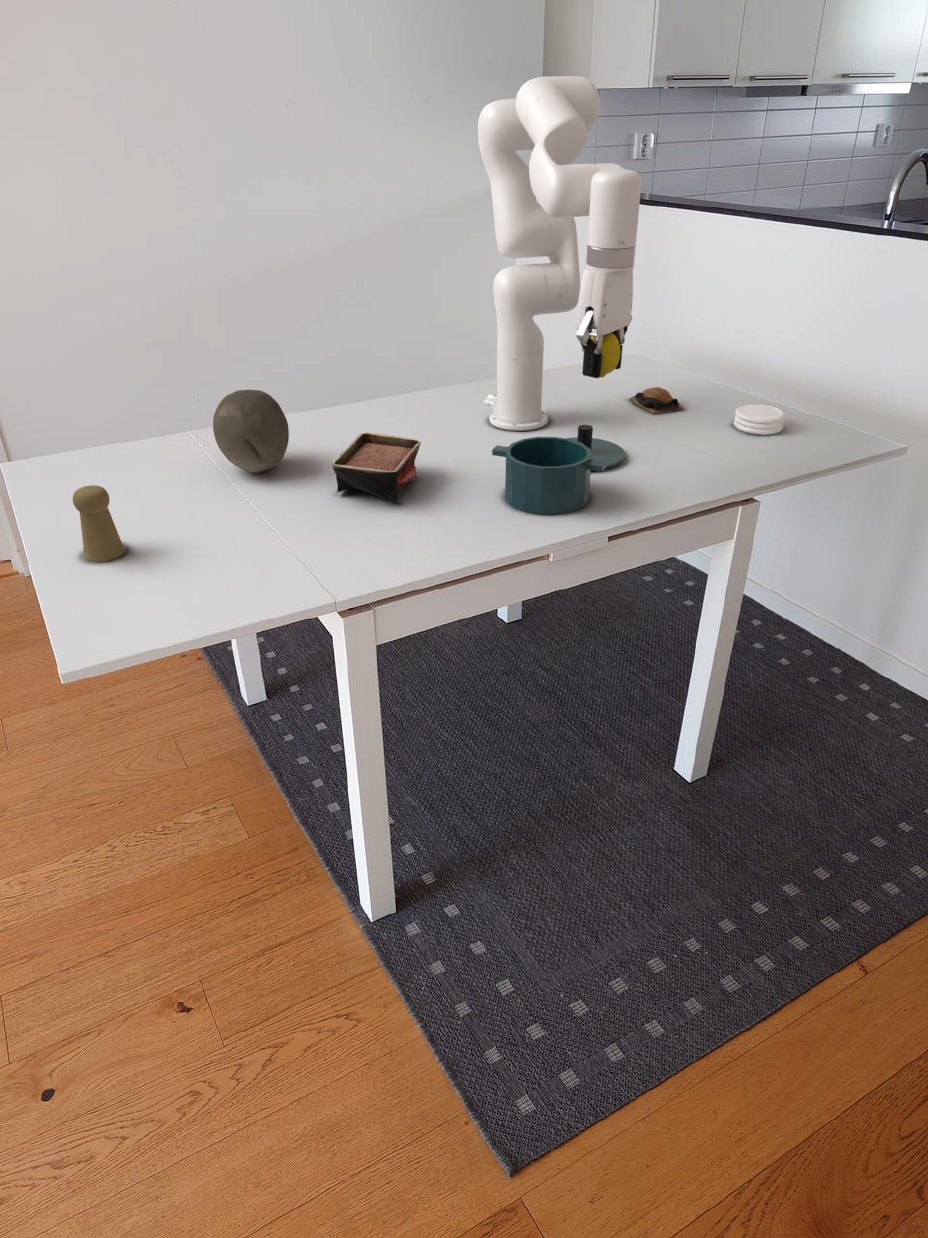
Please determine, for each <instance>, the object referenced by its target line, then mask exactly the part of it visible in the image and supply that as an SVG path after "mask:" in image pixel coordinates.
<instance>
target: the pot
mask: <svg viewBox="0 0 928 1238" xmlns="http://www.w3.org/2000/svg"><path fill="white" fill-rule="evenodd" d="M491 450H492V451H491V455H492V456H496V457H501V458H502V457H503V458H505V476H504V477H505V478H504V479H505V480H504V481H505V482H504V483H505V484H504V493H505V494H504V495H505V496H504V498H505V500H506V502H507V503H508V504H509V505H510V506H511V507H513V508H515V509H517V510H518V511H521V512H524V513H529V514H534V515H543V516H544V515H545V516H555V515H562V514H564V515H565V514H568V513H572V512H575V511H578V510H580V509H582V508H583V507H585V506H586V504H587V503H588V501H589V498H590V486H591V485H590V484H591V471H592V472H601V473H603V471H604V470H605V469H607V468H606V462H604V461H598V460H591V459H592V454H591V450H590V448H588V447H587V446H585V445H584V444H583V443H580V442H577V441H574V440H571V439H565V438H564V437H558V436H534V437H528V438H522V439H519V440H517V441H514V442H511V444H509V446H504V445H499V444H498V445H496V446H495V447H493V448H492V449H491Z"/></svg>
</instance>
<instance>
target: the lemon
mask: <svg viewBox="0 0 928 1238" xmlns="http://www.w3.org/2000/svg"><path fill="white" fill-rule="evenodd" d="M596 338H597V337H592V336H591V339H592V340H593V341H594V343H595V342H596ZM600 353H601V354H602V362H601V375H600V377H599V378H605V376H606V375H608V374H611V373H612V372H613V371H614V370H616V369H615V368H616V367H617V365H618V362H619V359H620V344H619V341H618V339H617V337H616V336H615V335H614V334H613V333H608V334H606V335H604V337H603V341H602V345H601V349H600Z"/></svg>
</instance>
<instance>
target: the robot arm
mask: <svg viewBox="0 0 928 1238" xmlns="http://www.w3.org/2000/svg"><path fill="white" fill-rule="evenodd" d="M600 101H601V100H600V95H599V91H598V89H597V87H596V85H595V84H594V82H593V81H592V80H591V79H589V78H587V76H586V77H585V76H582V75H581V76H580V75H561V76H560V75H557V76H556V75H555V76H554V75H552V76H551V75H549V76H548V75H546V76H537V77H533V78H530V79H529V80H527V81H526V82H524V83H523V85H521V86H520V88H519V90H518V91H517V93H516V96H515V98H503V99H498V100H495V101H492V102H490V103H488V104H486V105H485V106H484V107H483V109H482V110H481V111H480V114H479V117H478V121H477V141H478V148H479V152H480V155H481V159H482V162H483V165H484V168H485V171H486V173H487V177H488V180H489V185H490V192H491V204H492V213H493V225H494V235H495V241H496V246H497V250H498V252H499V253H500V254H501V255H502V256H503V257H505V258H509V259H528V258H529V259H530V258H541V257H548V260H549V262H545V263H527V264H517V265H511V266H507V267H504V268H503V269H500V271H498V273H497V274H496V275H495V277H494V279H493V284H492V292H493V300H494V301H493V302H494V306H495V307H494V308H495V314H496V328H497V329H496V330H497V332H496V333H497V334H496V335H497V336H496V337H497V338H496V339H497V340H496V341H497V343H496V344H497V345H496V346H497V347H496V350H497V351H496V360H497V361H496V394H493V393H488V394H487V396H486V398H485V399H484V400H483V405H485V406H487V407H491V409H492V412H491V413H490V414H489V415H488V416H489V417H488V419H489V423H490V424H491V425H492V426H494V427H496V428H498V429H503V430H508V431H516V432H517V431H531V430H532V431H533V430H536V429H540V428H543V427H544V426H546V425H547V424H548V423H549V415H548V414H547V412H545V411H544V410H542V402H543V397H542V396H543V373H544V372H543V371H544V351H545V350H544V348H545V346H544V345H545V341H544V340H545V339H544V335H543V332H542V331H541V329H540V327H539V326H538V325H537V323H536V322H535V321H534V317H535V316H539V315H550V314H560V313H567V312H570V311H572V310H574V309H576V307H577V311H576V323H575V328H576V331H577V332H576V339H577V340H578V342H579V343H580V346H581V351H582V352H583V356H582V357H583V358H582V360H583V361H582V375H583V376H584V377H589V378H594V379H599V378H601V377H600V375H601V362H602V354H601V353H600V349H601V345H602V341H603V337H604V335H606V334H608V333H613V334H614V335H615V336H616V337H617V339H618V341H619V344H620V359H619V362H618V365H617V367H616V368H615V369H614V370H620V369H621V368H622V358H623V349H624V348H623V347H624V346H623V345H624V344H625V341H626V337H625V336H626V333H627V332H628V328H629V326H630V325H631V323H632V320H633V315H632V311H633V310H632V309H633V296H634V268H635V258H636V248H637V247H636V245H637V235H638V225H639V214H640V204H641V192H642V178H641V175H640V174H639V172H637V171H635V170H633V169H625V167H623V166H622V165H620V164H618V163H609V162H605V163H573V162H574V161H576V159H578V158H579V157H580V156H581V154H582V153H583V151H584V149H585V147H586V144H587V140H588V133H589V131H591V130H592V129H593V127H594V126H595V124H596V123H597V121H598V119H599V115H600V109H601V107H600V105H601V102H600ZM516 151H518V152H519V151H531V154H530V158H529V163H528V165H527V164H526V162H525V161H524V160H523V159H522V157H520V155H518V154H517V153H516ZM572 163H573V164H572ZM578 217H580V218H581V217H588V227H587V244H586V259H585V268H584V270H583V274H582V278H581V271H580V260H579V259H580V258H579V245H578V232H577V225H576V221H575V218H578ZM593 330H596V331H595V332H593ZM592 337H597V338H596V342H595V343H594V341H593V340H592V339H591V338H592Z"/></svg>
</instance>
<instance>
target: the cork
mask: <svg viewBox="0 0 928 1238" xmlns="http://www.w3.org/2000/svg"><path fill="white" fill-rule="evenodd" d="M72 503H73V507H75V509H76V510H77V511H78V512H79V519H80V529H81V538H82V539H81V540H82V547H83V548H82V549H83V556H84V559H85V560H87V561H88V562H93V563H104V562H108V561H112V560H115V559H117V558H119V557H121V556H123V554H124V553H125V549H126V548H125V547H124V544H123V542H122V540H121V537H120V535H119V531H118V529H117V527H116V525H115V522H114V519H113V517H112V515H111V512H110V510H109V505H110V494H109V493H108V491H107V489H106V488H104V486H100V485H97V484H95V485H93V484H92V485H85V486H82V487H79V488H78V489H76V490H75V491H74V492H73V494H72Z"/></svg>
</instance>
